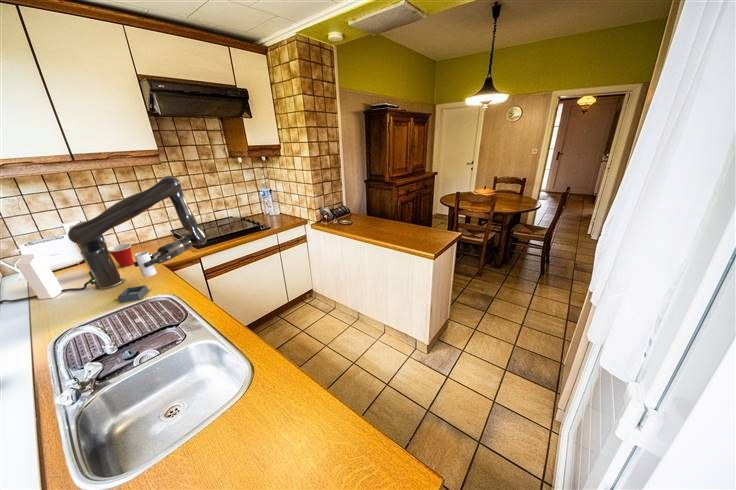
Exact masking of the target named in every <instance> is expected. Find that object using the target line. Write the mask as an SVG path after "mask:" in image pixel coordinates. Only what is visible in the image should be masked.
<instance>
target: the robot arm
mask: <svg viewBox="0 0 736 490" xmlns="http://www.w3.org/2000/svg"><path fill="white" fill-rule="evenodd" d="M168 198H169V200H170V201H171V203H172V205H173V208H174V211H175V213H176V215H177V218H178V220H179V222H180V224H181V226H182V228H183V230H184V231H186V232H189V233H187V234H185V235H184V236H183V237H181V238H179V239H176V240H174V241H171V242H168V243H167V244H164V245H162V246H160V247H158V249H157V251H156V252H152V253H150V252H149V255H150V257H151V259H152V260H150V261H148V262H146V263H144V266H145V267H146V268H147V267H149V266H151V265H153V264H154V265H157V264H158V265H161V264H163V263H166V262H168V261H170V260H172V259H174V258H176V257H178V256H180V255H182V254H183V253H185V252H187V251H189V250H190V249H191V248H193V246H194V245H196V246H197V245H201V246H202V245H205V244H206V243H207V241H208V236H207V233H206V232H205V231H204V230H203V228H202V227H201V226H200V225H199V224H198V222H197V220H196V218H195V216H194V214H193V211H192V210H191V208H190V207H189V205H188V203H187V202H188V201H187V200H186V198H185V195H184V193H183V189H182V183H181V181H180V179H178V178H177V177H176V176H174V175H171V174H170V175H164V176H162V177H161V178H160V179H159V181H157V183H155V184H153V185H152V186H150V187H149V188H147V189H145V190H143V191H139V192H137V193H134V194H131V195H129V196H126V197H124V198H123V199H121V200H119V201H117V202H115V203H113V204H112V205H110V206H109V207H108V208H106V209H105V210H104V211H102V212H101V213H100V214H98V215H97V216H95V217H93V218H91V219H89V220H87V221H85V220H84V221H80V222H77V223H75V224H74V225H72V226H71V227H70V229H69V230H68V232H67V237H68V239H69V240H70V241H71V242H72V243H74V244H77V245H79V248H80V255H81V256H82V258H83V261H84V262H85V264H86V266H87V268H88V270H89V271H88V275H89V276H90V279H88V281H87V282H85V283H84V284H83V287H78V288H77V287H72V288H71V287H70V288H64V289H63V288H62V289H63V290H61V292H62V293H65V292H68V291H69V292H70V291H82V290H86V289H87V286H88V285H89V284H90V285H91V286H92V285H94V286H95V287H96V289H98V290H99V289H100V290H106V289H110V288H113V287H116V286H119V285H120V284H122V283H123V282H124V279H123V276H122V274H120V272H119V269H118V268H117V266H116V264H115V261H114V258H113V256H112V255H111V253H110V252H109V251H108V249H107V248H108V245H107V242H106V239H105V237H104V234H105V233H106V232H108V231H110V230H111V229H113V228H116V227H118V226H120V225H122V224H125V223H126V222H128V221H131V220H132V219H135V218H136V217H138V216H140V215H141V214H143V213H144V212H146V211H147V210H149V209H151V208H152V207H154V206H155V205H156V204H158V203H160V202H162V201H164V200H167V199H168ZM133 266H134V267H136V268H138V267H139V265H138V263H137V261H136V260H135V262H134V261H133ZM36 298H38V297H37V295H36V294H35V295H31V296H27V297H22V298H16V299H2V300H0V305H2V304H3V303H17V302H22V301H26V300H30V299H36Z"/></svg>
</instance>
